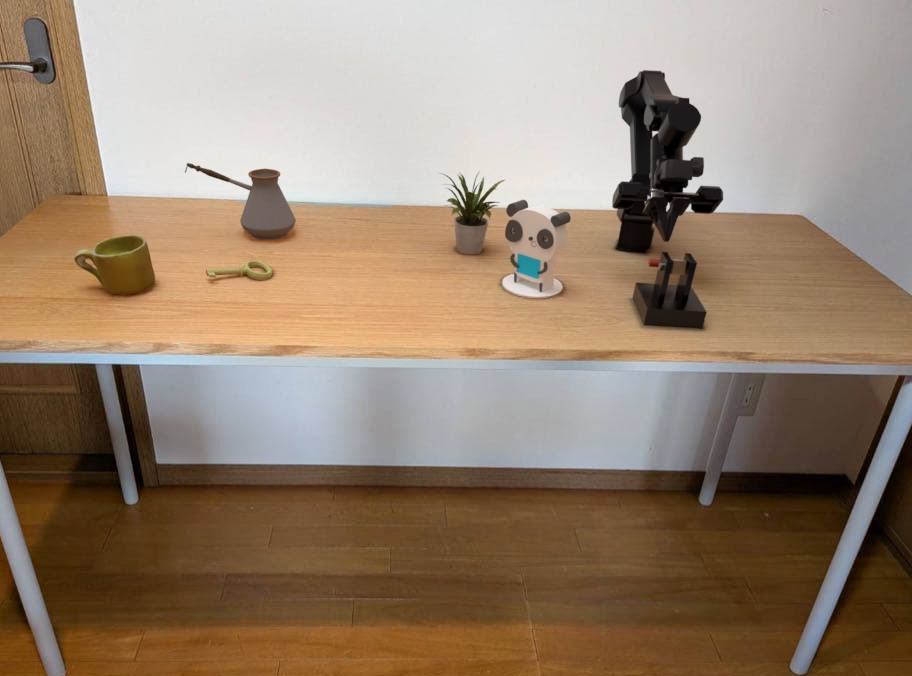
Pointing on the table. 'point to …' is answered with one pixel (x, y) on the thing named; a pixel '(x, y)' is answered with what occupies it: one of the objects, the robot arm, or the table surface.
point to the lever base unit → (670, 298)
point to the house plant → (471, 216)
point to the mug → (120, 264)
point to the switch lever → (677, 266)
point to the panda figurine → (534, 249)
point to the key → (243, 270)
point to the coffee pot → (261, 204)
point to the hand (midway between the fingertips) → (666, 240)
